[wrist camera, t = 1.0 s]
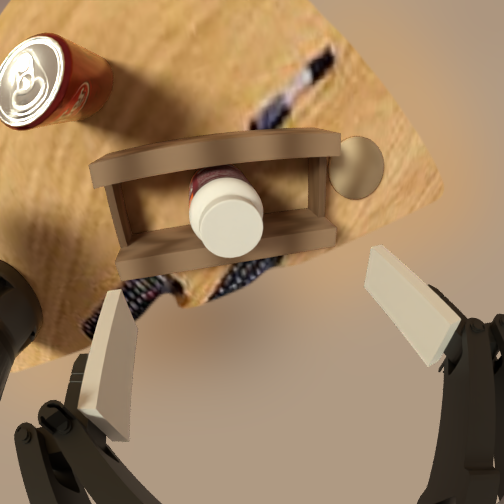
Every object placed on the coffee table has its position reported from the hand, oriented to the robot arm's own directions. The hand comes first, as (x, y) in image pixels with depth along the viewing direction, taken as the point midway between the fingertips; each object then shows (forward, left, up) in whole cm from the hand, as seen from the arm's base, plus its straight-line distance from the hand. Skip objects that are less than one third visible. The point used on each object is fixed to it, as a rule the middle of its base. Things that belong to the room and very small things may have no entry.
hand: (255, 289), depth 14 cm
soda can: (-13, +14, -19) cm, 27 cm away
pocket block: (0, 0, -18) cm, 18 cm away
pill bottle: (0, 0, -19) cm, 19 cm away
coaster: (+17, +1, -18) cm, 25 cm away
